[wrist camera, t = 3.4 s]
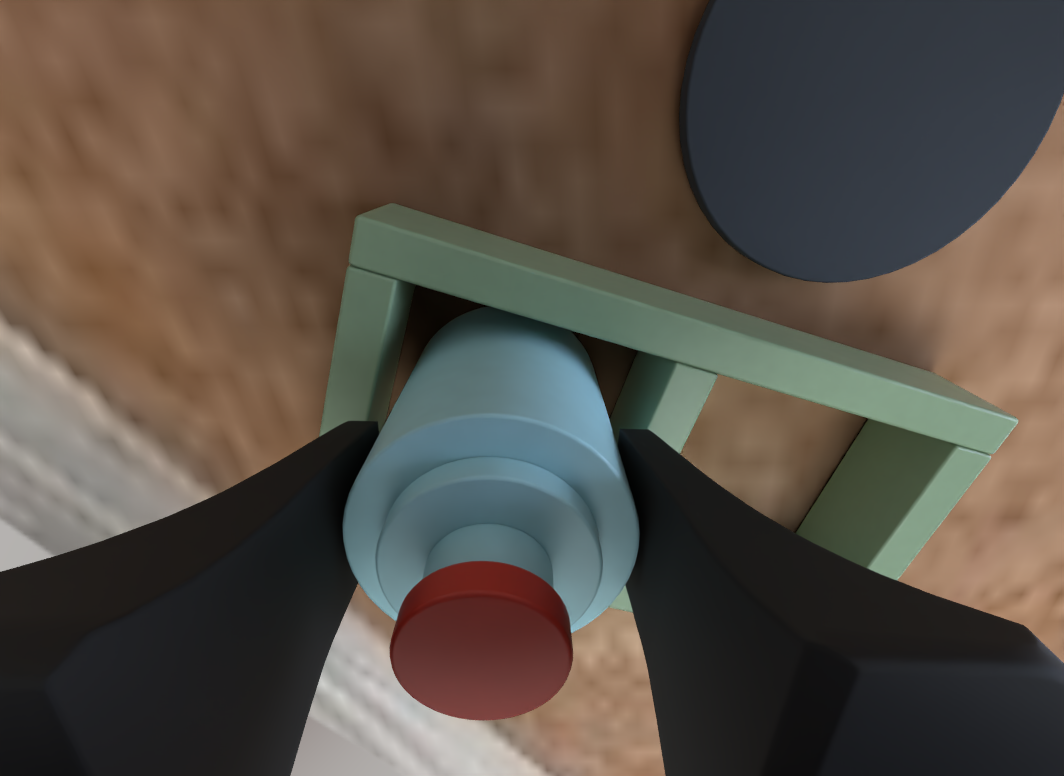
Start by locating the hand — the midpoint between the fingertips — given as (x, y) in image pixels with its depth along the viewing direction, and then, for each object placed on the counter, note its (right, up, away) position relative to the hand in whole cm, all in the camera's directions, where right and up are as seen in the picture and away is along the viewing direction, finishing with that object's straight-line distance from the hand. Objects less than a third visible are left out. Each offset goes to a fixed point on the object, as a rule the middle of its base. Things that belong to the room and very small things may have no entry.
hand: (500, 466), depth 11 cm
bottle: (0, +2, +3) cm, 4 cm away
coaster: (+8, +8, +1) cm, 11 cm away
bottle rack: (+3, +1, +4) cm, 5 cm away
